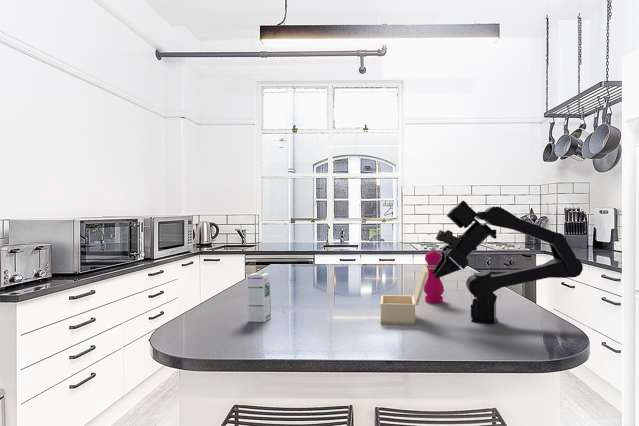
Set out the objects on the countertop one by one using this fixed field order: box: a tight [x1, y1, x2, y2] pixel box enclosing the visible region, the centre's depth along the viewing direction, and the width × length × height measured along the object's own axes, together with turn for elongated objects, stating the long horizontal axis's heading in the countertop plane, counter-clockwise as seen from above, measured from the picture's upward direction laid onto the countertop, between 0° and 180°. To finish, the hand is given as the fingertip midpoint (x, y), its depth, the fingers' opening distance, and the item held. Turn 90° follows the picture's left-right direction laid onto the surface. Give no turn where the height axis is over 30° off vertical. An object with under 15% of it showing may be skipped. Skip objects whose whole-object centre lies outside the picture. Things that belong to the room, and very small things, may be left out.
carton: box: [380, 294, 416, 326], centre depth 143 cm, size 10×14×6 cm
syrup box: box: [246, 272, 272, 323], centre depth 145 cm, size 6×6×14 cm
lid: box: [412, 265, 428, 306], centre depth 142 cm, size 10×14×1 cm
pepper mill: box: [423, 246, 445, 304], centre depth 169 cm, size 7×7×20 cm
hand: (434, 275), depth 142 cm, fingers open, 8 cm apart
